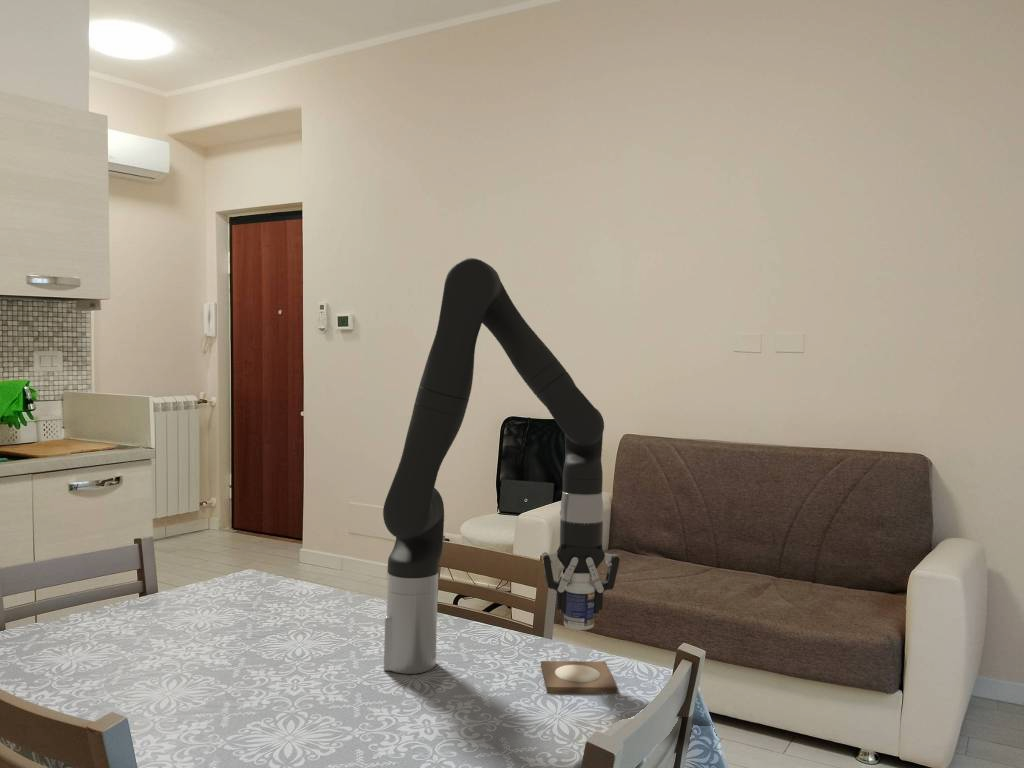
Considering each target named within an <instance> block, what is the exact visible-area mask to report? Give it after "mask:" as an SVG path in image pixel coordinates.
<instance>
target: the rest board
mask: <svg viewBox="0 0 1024 768" xmlns="http://www.w3.org/2000/svg"><path fill="white" fill-rule="evenodd" d="M540 668H541V673H542V677H543V681H544V686H545V690H546V693H547V694H553V693H554V694H617V693H618V686H617V685H616V682H615V680H614V678H613V676H612V674H611V672H610V668H609V666H608V664H607V662H606V661H588V660H587V661H581V660H579V661H577V660H576V661H574V660H573V661H571V660H570V661H569V660H566V661H565V660H564V661H563V660H540Z"/></svg>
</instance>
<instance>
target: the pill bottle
mask: <svg viewBox="0 0 1024 768" xmlns="http://www.w3.org/2000/svg"><path fill="white" fill-rule="evenodd" d="M591 581H592V578H591V574H590V573H573V574H572V576H571V578H570V580H569V582H568V583H567V586H566V588H565V590H564V591H565V613H563V624H564V626H565V627H566V628H568V629H570V630H575V631H576V630H578V631H586V630H591V629H592V628H593V627H594V625H595V613H594V608H595V585H594V583H592V582H591Z"/></svg>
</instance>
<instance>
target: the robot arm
mask: <svg viewBox="0 0 1024 768" xmlns="http://www.w3.org/2000/svg"><path fill="white" fill-rule="evenodd" d="M443 285H444V287H443V292H442V293H443V294H442V298H441V303H440V304H441V305H440V310H439V311H440V312H439V318H438V322H437V323H438V324H437V328H436V332H435V335H434V339H433V342H432V345H431V347H430V350H429V353H428V356H427V359H426V362H425V365H424V370H423V371H422V372H423V373H422V374H421V379H420V381H419V386H418V388H417V393H416V397H415V401H414V405H413V409H412V415H411V417H410V420H409V421H410V422H409V426H408V429H407V432H406V433H407V434H406V437H405V441H404V446H403V450H402V454H401V457H400V461H399V463H398V466H397V469H396V471H395V474H394V477H393V480H392V482H391V485H390V487H389V490H388V493H387V495H386V498H385V501H384V504H383V509H382V517H383V522H384V525H385V527H386V529H387V531H388V532H389V533H390V534H391V535H392V536H393V537H395V542H394V545H393V548H392V550H391V552H390V554H389V556H388V559H387V582H386V583H387V585H386V587H387V589H386V614H385V618H384V642H383V643H384V645H383V650H384V651H383V671H390V672H393V673H397V674H403V675H404V674H406V675H407V674H410V675H411V674H420V673H425V672H428V671H431V670H432V669H434V668H435V667H436V665H437V664H436V663H437V636H438V635H437V629H438V595H439V593H438V590H439V589H438V588H439V587H438V586H439V564H440V559H441V557H442V552H443V544H444V528H445V506H444V501H443V498H442V495H441V494H440V491H438V490H437V488H436V487H435V486H436V482H437V478H438V474H439V471H440V469H441V465H442V463H443V461H444V460H445V458H446V455H447V454H448V452H449V450H450V448H451V446H452V445H453V443H454V441H455V439H456V437H457V436H458V434H459V431H460V428H461V427H462V424H463V421H464V418H465V414H466V412H467V408H468V405H469V404H468V403H469V401H470V396H471V393H472V387H473V380H474V379H473V378H474V371H475V370H474V369H475V353H476V345H477V344H476V343H477V340H478V337H479V333H480V330H481V327H482V324H483V325H484V327H485V328H486V329H488V330H489V332H490V334H492V336H494V338H495V339H496V341H497V342H498V343H499V345H500V346H501V348H502V349H503V351H504V353H505V354H506V356H507V357H508V359H509V360H510V362H511V364H512V366H513V367H514V369H515V370H516V372H517V373H518V375H519V376H520V377H521V379H522V380H523V381H524V383H525V384H526V385H527V386H528V388H529V389H530V390H531V392H532V393H533V394H534V396H536V398H537V399H538V400H539V401H540V402H541V403H542V404H543V405H544V407H546V409H547V410H548V412H549V414H550V415H551V416H552V418H553V419H554V421H555V422H556V424H557V425H558V426H559V427H558V428H560V429H561V431H562V432H563V434H564V447H565V448H564V449H565V450H564V451H565V453H564V455H565V456H564V458H565V459H564V463H563V471H562V492H561V493H562V495H561V500H560V511H559V515H560V523H559V524H560V526H559V546H558V549H557V551H556V552H550V553H548V552H546V551H545V552H543V553H542V554H541V559H542V563H543V569H544V575H545V576H544V577H545V580H546V582H545V583H546V585H547V588H548V589H551V590H555V592H556V593H555V595H556V597H555V598H556V599H555V603H556V608H557V610H559V611H560V614H564V613H565V588H566V586H567V583H568V582H569V581H570V578H571V576H572V574H573V573H590V574H591V581H592V582H593V583H592V584H593V585H594V587H595V608H594V615H596V614H598V615H599V613H600V611H602V610H603V605H604V604H603V600H604V592H606V591H608V590H613V589H614V587H615V582H616V577H617V574H618V570H619V565H620V561H621V559H620V557H619V556H618V554H616V553H615V552H614V553H608V552H607V553H606V552H605V550H604V548H603V536H604V535H603V532H604V531H603V530H604V528H603V527H604V500H603V479H604V477H603V465H602V453H603V452H602V451H603V439H604V438H603V437H604V430H605V422H604V418H603V415H602V413H601V412H600V410H598V409H597V408H596V407H595V406H594V405H593V404H592V403H591V402H590V400H589V399H588V398H587V397H586V396H585V394H583V392H582V391H581V390H580V388H578V387H577V385H576V383H575V381H574V379H573V378H572V377H571V375H570V374H569V372H568V371H567V370H566V368H565V367H564V366H563V365H562V363H561V361H560V360H559V359H558V358H557V357H556V356H555V355H554V354H553V352H552V351H551V350H550V348H548V346H547V345H546V344H545V343H544V342H543V340H542V339H541V338H540V337H539V336H538V335H537V333H536V332H535V331H534V330H533V329H532V328H531V326H530V325H529V324H528V323H527V321H526V320H525V319H524V317H523V316H522V315H521V313H520V312H519V310H518V309H517V307H516V306H515V304H514V302H513V300H512V299H511V297H510V296H509V294H508V291H507V290H506V289H505V286H504V285H503V282H502V281H501V278H500V275H499V273H498V272H497V271H496V270H495V268H494V267H492V266H491V265H490V264H489V263H487V262H485V261H483V260H481V259H478V258H474V257H473V258H472V257H467V258H464V259H461V260H459V261H457V262H456V263H455V264H453V265H452V267H451V268H450V270H449V271H448V273H447V274H446V278H445V281H444V284H443ZM557 559H558V560H559V561H560V563H561V564H562V566H563V568H562V570H561V572H560V575H559V578H558V580H557V581H556V580H554V575H553V570H552V569H553V568H552V566H555V565H556V560H557ZM604 560H605V564H606V565H607V570H606V576H605V579H604V581H603V580H602V581H601V577H600V576H599V573H598V570H597V568H599V566H600V565H601V563H602V562H603V561H604Z"/></svg>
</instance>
